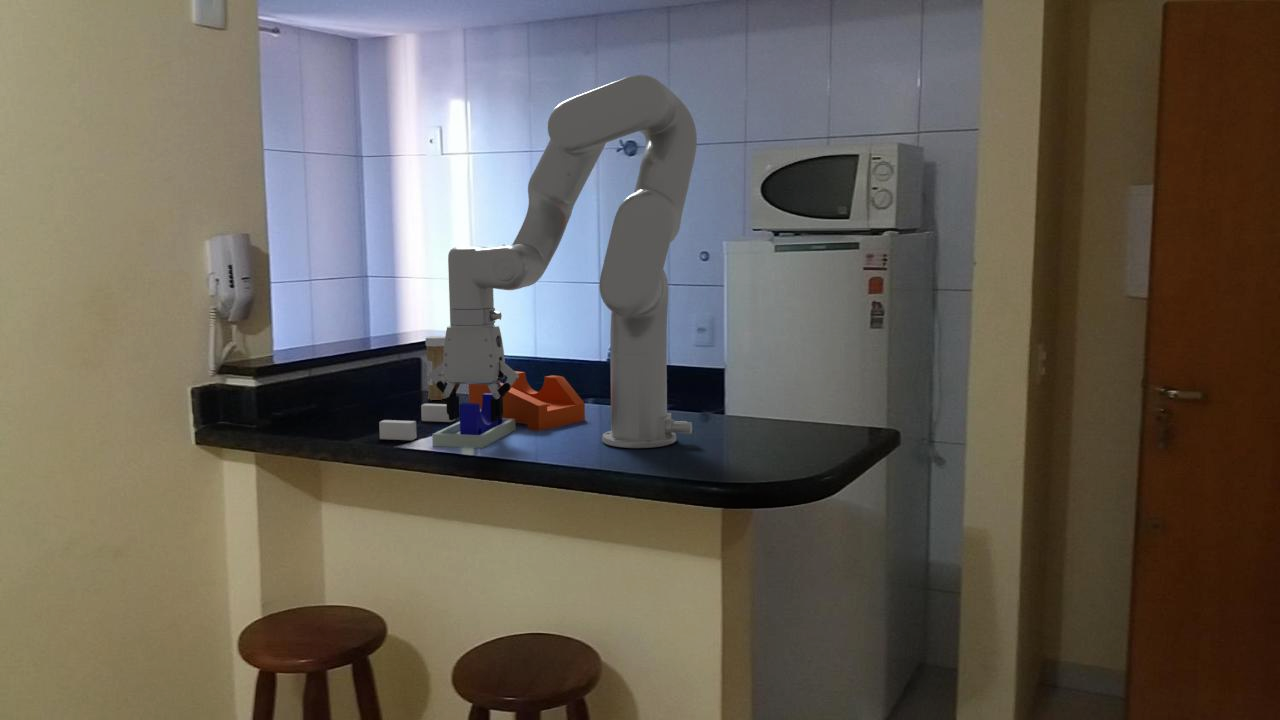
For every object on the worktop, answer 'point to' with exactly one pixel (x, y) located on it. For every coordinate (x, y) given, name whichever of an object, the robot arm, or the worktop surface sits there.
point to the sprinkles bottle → (434, 364)
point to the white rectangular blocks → (412, 423)
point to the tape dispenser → (537, 402)
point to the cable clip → (477, 417)
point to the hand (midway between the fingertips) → (475, 418)
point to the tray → (455, 439)
